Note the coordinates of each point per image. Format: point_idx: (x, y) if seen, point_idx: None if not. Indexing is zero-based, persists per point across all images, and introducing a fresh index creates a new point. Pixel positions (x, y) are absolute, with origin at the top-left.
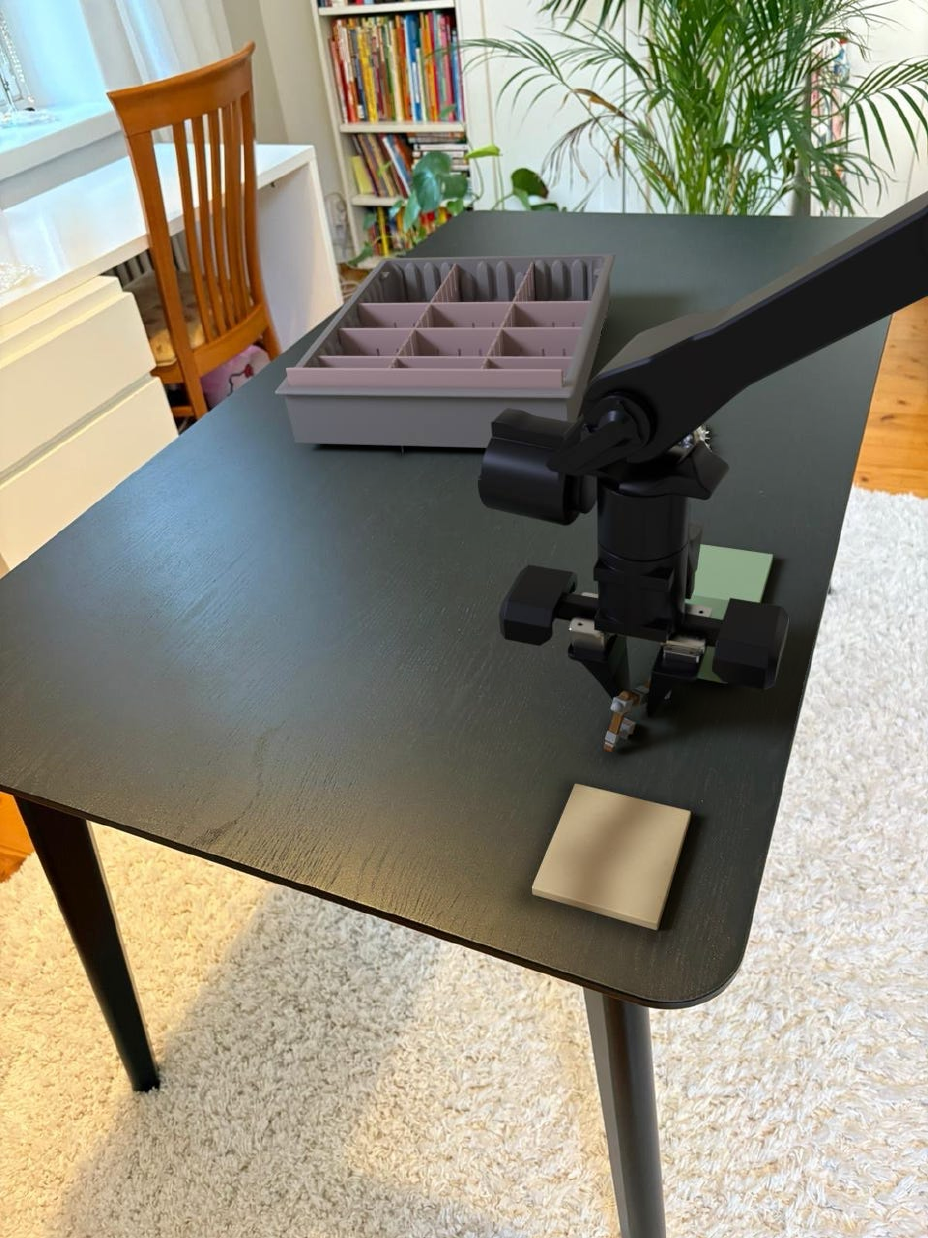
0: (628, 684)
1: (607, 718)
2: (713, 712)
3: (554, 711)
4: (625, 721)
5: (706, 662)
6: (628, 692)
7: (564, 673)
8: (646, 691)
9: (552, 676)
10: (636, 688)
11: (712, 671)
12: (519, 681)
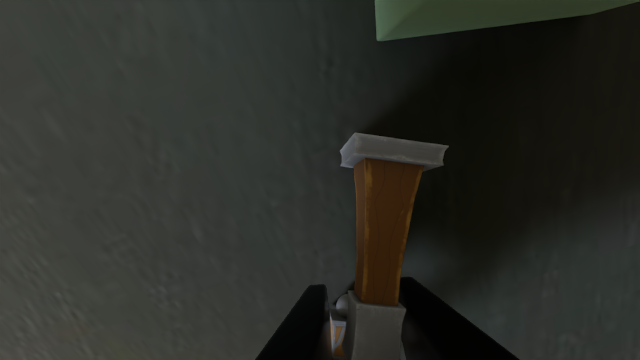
0: (321, 351)
1: (280, 286)
2: (553, 164)
3: (151, 309)
4: (340, 334)
5: (576, 3)
6: (326, 334)
7: (82, 177)
8: (395, 339)
9: (62, 201)
10: (355, 346)
11: (570, 11)
12: (3, 251)
